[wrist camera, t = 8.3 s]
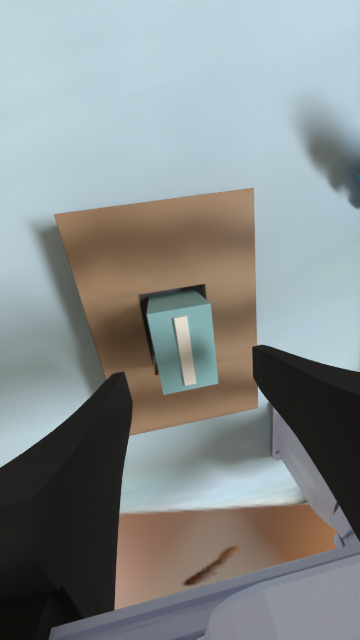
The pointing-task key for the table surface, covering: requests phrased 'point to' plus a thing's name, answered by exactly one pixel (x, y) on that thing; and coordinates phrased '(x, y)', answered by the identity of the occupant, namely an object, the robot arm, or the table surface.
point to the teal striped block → (182, 340)
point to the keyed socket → (163, 277)
